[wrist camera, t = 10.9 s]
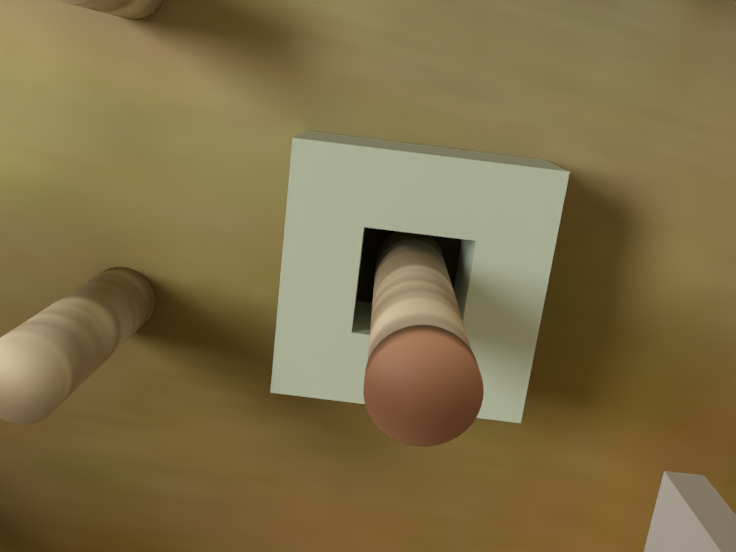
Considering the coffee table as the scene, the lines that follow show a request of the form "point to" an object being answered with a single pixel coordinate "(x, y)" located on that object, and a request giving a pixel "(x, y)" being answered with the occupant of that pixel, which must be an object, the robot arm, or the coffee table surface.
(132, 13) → the pin short
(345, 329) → the collar block
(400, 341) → the pin long
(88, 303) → the pin medium
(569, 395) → the coffee table surface
